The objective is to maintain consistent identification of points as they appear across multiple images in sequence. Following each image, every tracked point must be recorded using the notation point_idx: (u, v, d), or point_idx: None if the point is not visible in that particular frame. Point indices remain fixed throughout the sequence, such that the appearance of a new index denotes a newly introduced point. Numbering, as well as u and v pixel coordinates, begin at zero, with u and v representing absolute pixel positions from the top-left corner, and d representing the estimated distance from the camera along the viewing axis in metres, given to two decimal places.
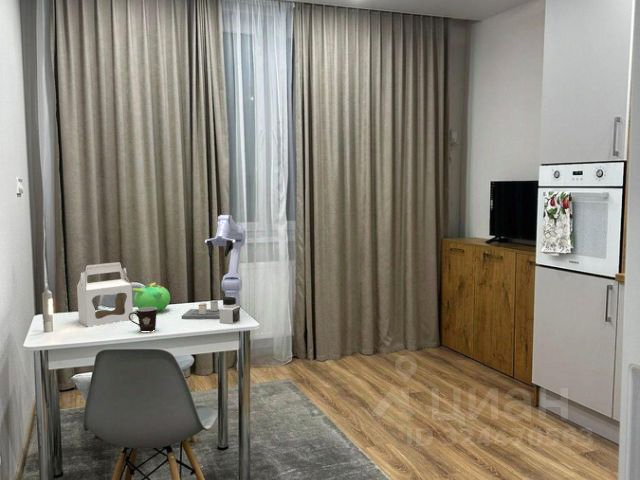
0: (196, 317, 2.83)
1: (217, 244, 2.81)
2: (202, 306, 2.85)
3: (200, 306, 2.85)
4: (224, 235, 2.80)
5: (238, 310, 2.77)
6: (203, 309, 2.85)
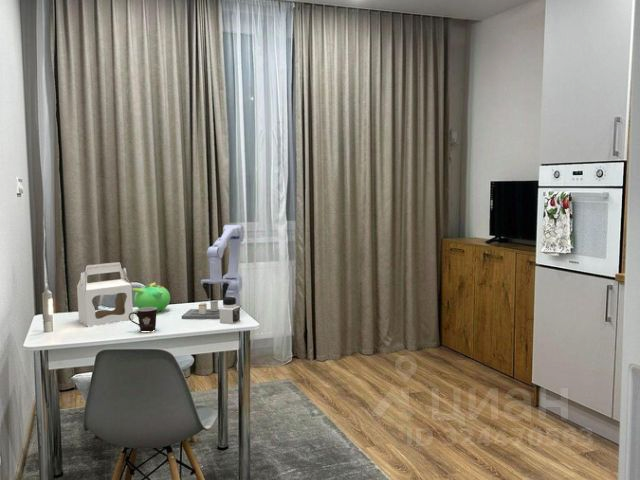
0: (196, 317, 2.83)
1: None
2: (202, 306, 2.85)
3: (200, 306, 2.85)
4: (218, 277, 2.82)
5: (238, 310, 2.77)
6: (203, 309, 2.85)
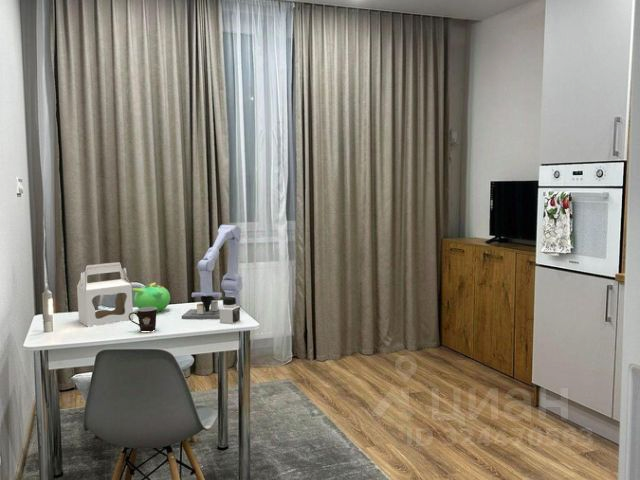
0: (196, 317, 2.83)
1: None
2: (200, 306, 2.85)
3: (198, 306, 2.85)
4: (209, 290, 2.83)
5: (238, 310, 2.77)
6: (201, 309, 2.85)
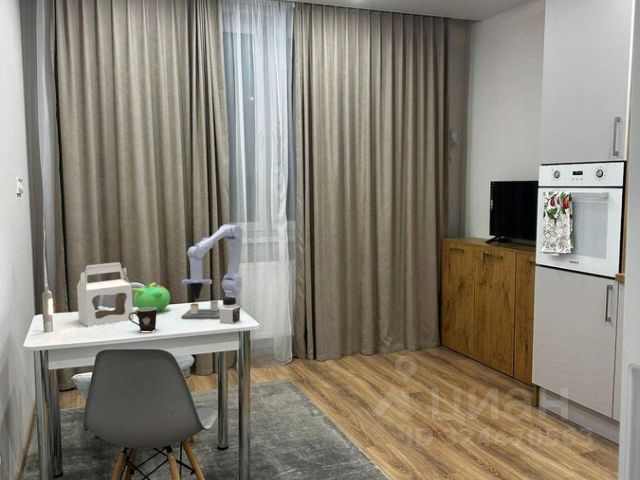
0: (196, 317, 2.83)
1: None
2: (194, 306, 2.85)
3: (192, 306, 2.85)
4: (199, 277, 2.83)
5: (238, 310, 2.77)
6: (195, 309, 2.85)
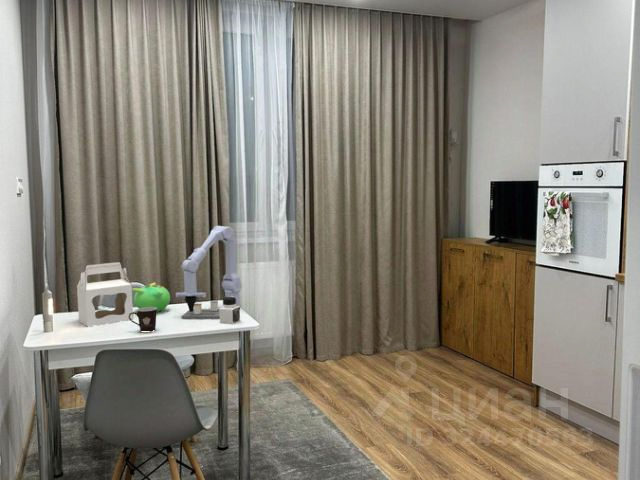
0: (196, 317, 2.83)
1: None
2: (197, 306, 2.85)
3: (195, 306, 2.85)
4: (193, 290, 2.84)
5: (238, 310, 2.77)
6: (198, 309, 2.85)
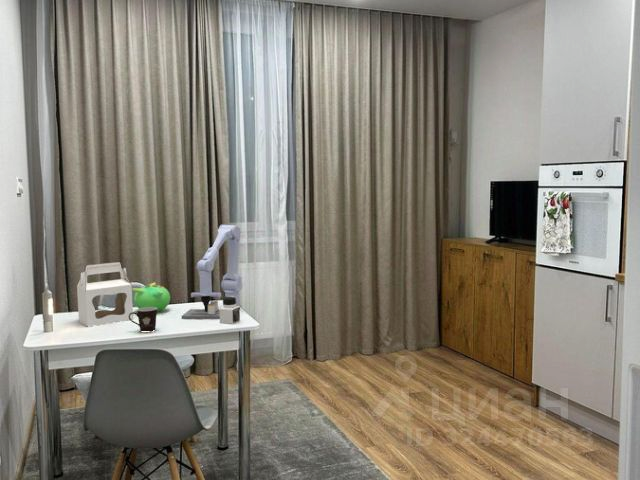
0: (196, 317, 2.83)
1: None
2: (211, 306, 2.84)
3: (209, 306, 2.84)
4: (208, 290, 2.83)
5: (238, 310, 2.77)
6: (212, 309, 2.84)
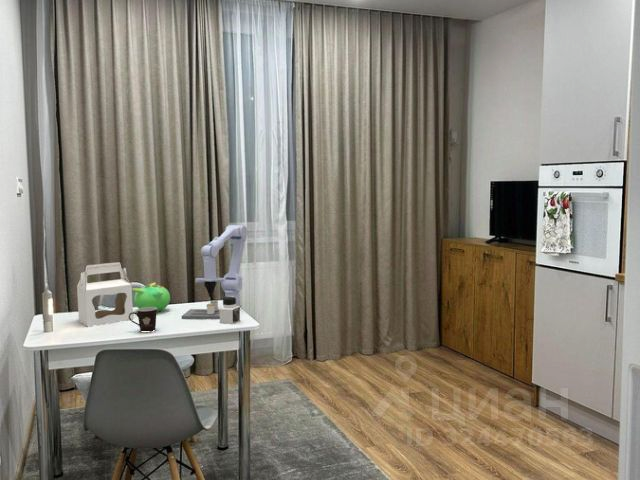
0: (196, 317, 2.83)
1: None
2: (210, 306, 2.84)
3: (208, 306, 2.84)
4: (213, 275, 2.84)
5: (238, 310, 2.77)
6: (211, 309, 2.85)
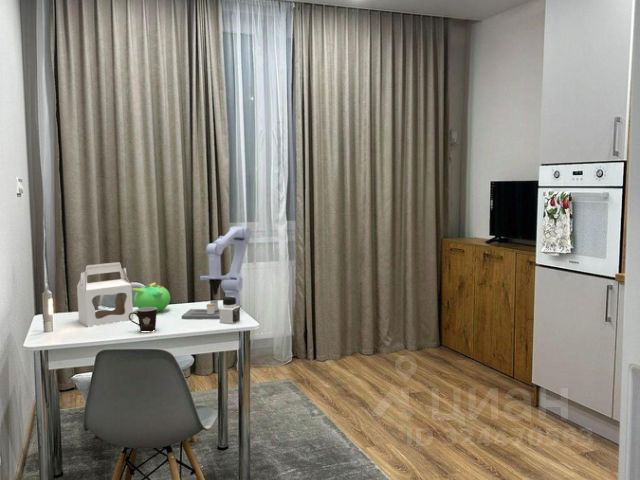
0: (196, 317, 2.83)
1: None
2: (210, 306, 2.84)
3: (208, 306, 2.84)
4: (217, 273, 2.87)
5: (238, 310, 2.77)
6: (211, 309, 2.85)
